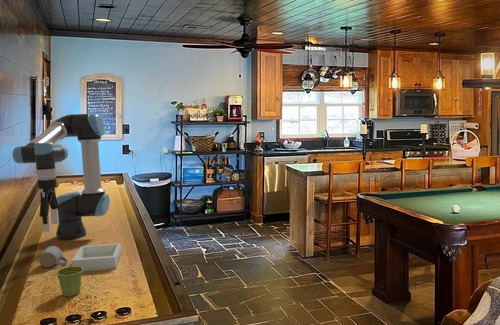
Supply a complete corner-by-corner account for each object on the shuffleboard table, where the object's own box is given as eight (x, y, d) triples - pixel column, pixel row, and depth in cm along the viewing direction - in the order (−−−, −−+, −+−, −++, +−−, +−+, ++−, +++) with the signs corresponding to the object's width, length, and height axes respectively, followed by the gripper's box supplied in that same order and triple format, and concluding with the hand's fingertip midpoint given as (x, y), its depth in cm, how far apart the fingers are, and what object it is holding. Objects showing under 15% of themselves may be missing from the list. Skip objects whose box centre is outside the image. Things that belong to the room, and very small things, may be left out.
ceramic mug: (38, 269, 197) (37, 251, 196) (45, 263, 205) (44, 246, 204) (64, 268, 198) (63, 250, 197) (70, 261, 206) (69, 244, 205)
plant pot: (88, 288, 173) (86, 265, 172) (80, 298, 164) (78, 274, 163) (63, 289, 173) (61, 266, 172) (53, 299, 164) (51, 275, 163)
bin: (82, 257, 211) (81, 246, 211) (121, 253, 214) (120, 243, 213) (72, 272, 191) (71, 260, 191) (115, 268, 194) (115, 257, 193)
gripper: (45, 175, 209) (49, 221, 211) (28, 183, 184) (33, 235, 187) (62, 174, 210) (66, 220, 213) (48, 182, 186) (52, 234, 188)
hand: (50, 227), depth 200 cm, fingers open, 13 cm apart
